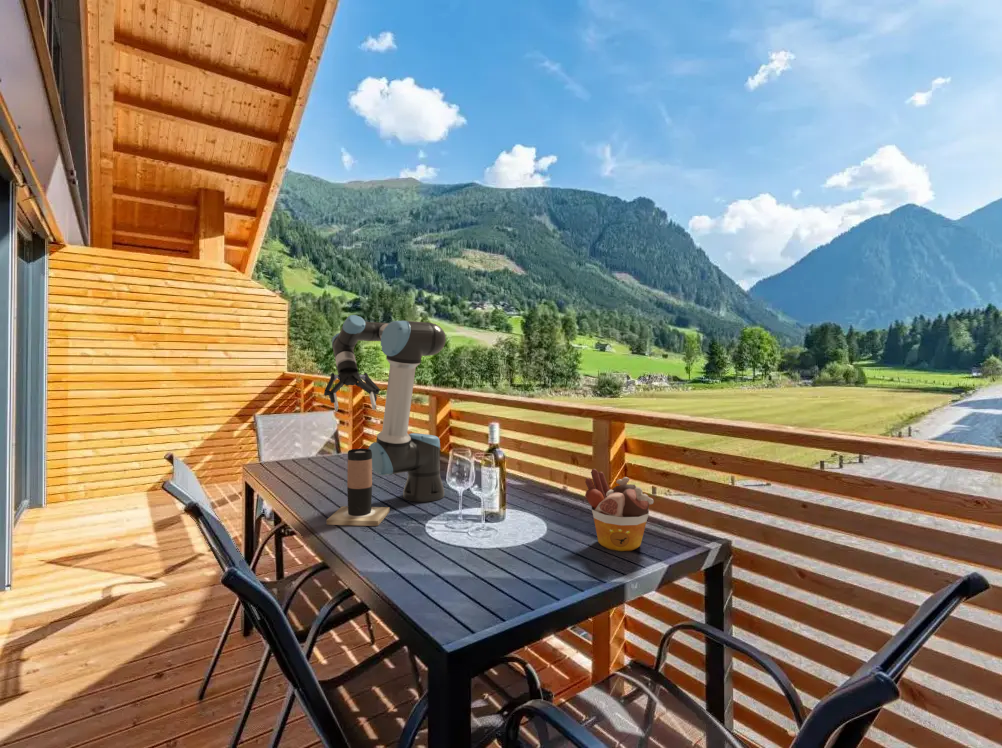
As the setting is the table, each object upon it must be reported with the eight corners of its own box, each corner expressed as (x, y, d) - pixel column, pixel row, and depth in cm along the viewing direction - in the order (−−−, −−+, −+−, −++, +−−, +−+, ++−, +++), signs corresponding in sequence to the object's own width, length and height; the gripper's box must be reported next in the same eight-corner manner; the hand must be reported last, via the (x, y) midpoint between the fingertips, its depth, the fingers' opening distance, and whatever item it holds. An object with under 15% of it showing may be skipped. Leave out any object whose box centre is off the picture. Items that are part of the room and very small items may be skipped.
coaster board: (389, 511, 170) (389, 506, 170) (378, 525, 156) (378, 520, 156) (342, 510, 170) (342, 505, 170) (326, 524, 156) (326, 519, 156)
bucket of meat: (664, 547, 141) (666, 476, 141) (629, 562, 131) (631, 486, 130) (606, 528, 157) (608, 464, 156) (571, 540, 146) (572, 471, 145)
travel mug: (342, 513, 162) (342, 451, 161) (359, 507, 168) (359, 447, 168) (360, 517, 158) (360, 453, 157) (376, 511, 165) (377, 450, 164)
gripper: (376, 372, 207) (387, 412, 195) (312, 372, 195) (319, 416, 182) (380, 359, 202) (391, 400, 190) (314, 359, 190) (321, 402, 178)
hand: (356, 408), depth 186 cm, fingers open, 13 cm apart
